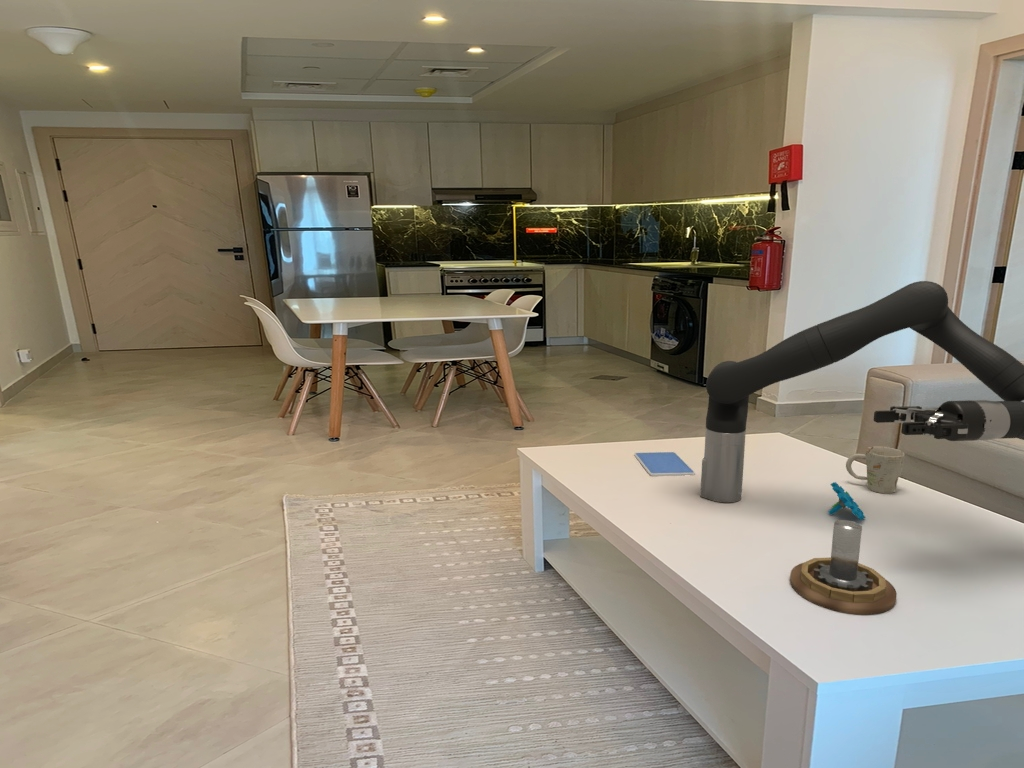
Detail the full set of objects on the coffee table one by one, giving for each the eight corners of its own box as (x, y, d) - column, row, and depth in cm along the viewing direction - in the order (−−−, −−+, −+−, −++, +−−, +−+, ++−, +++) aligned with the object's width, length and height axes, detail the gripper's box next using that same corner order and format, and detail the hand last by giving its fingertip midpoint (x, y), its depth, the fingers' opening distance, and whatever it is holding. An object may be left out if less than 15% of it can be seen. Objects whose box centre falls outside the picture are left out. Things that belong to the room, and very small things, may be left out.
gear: (868, 521, 143) (835, 484, 146) (845, 536, 146) (812, 499, 148) (867, 510, 153) (836, 475, 156) (845, 524, 155) (815, 490, 158)
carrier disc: (786, 600, 115) (787, 586, 114) (793, 559, 130) (794, 546, 129) (898, 624, 107) (900, 609, 107) (893, 578, 122) (894, 564, 122)
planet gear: (812, 588, 117) (817, 530, 114) (814, 566, 125) (819, 511, 122) (872, 600, 112) (879, 540, 110) (871, 576, 120) (877, 520, 118)
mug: (899, 497, 161) (903, 458, 159) (842, 488, 167) (845, 450, 165) (900, 487, 168) (905, 449, 166) (845, 478, 174) (849, 442, 172)
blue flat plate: (633, 456, 196) (633, 451, 196) (675, 455, 197) (675, 451, 197) (650, 478, 177) (650, 473, 177) (696, 477, 178) (696, 472, 178)
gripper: (948, 392, 130) (868, 394, 129) (1005, 410, 116) (915, 412, 115) (943, 429, 131) (864, 431, 131) (999, 451, 118) (910, 453, 117)
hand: (888, 422), depth 123 cm, fingers open, 8 cm apart
